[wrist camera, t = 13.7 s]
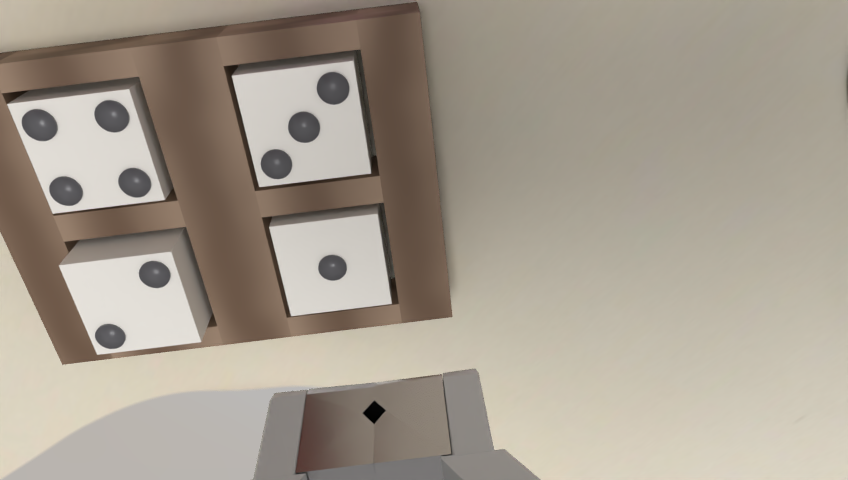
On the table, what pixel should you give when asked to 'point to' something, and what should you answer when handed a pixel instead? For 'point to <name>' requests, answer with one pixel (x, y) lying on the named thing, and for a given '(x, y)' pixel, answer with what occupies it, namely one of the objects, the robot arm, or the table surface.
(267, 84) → the button three dots
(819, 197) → the table surface
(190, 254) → the button two dots
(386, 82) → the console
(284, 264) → the button one dot
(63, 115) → the button four dots
